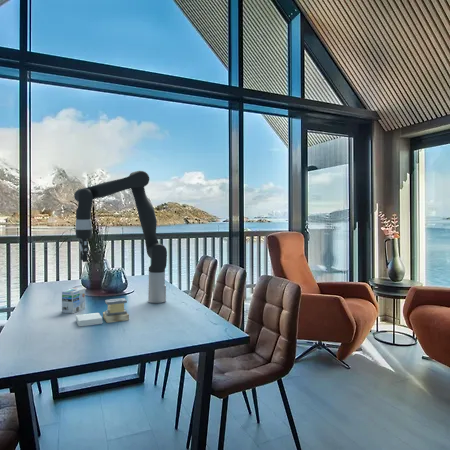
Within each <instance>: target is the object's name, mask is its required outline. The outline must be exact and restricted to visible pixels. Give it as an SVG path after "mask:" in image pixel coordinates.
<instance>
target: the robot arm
mask: <svg viewBox="0 0 450 450" xmlns="http://www.w3.org/2000/svg"><path fill="white" fill-rule="evenodd" d="M149 183H150V176H149V174H148V173H147V172H146V171H144V170H136V171H133V172H132V171H131V172H130V174H129V175H128V176H125V177H122V178H119V179H113V180H109V181H105V182H100V183H97V184H95V185H92V186H87V187H83V188H79V189H77V190H75V192H74V195H73V196H74V200H75V201H76V202H77V208H76V210H75V211H76V212H75V238H76V239H79V243H78V244H79V252H80V260H81V261H82V262H83V263H87V262H88V254H89V241H88V239H92V237H93V235H92V234H93V225H92V206H93V201H94V200H97V199H102V198H105V197H108V196H111V195H115V194H117V193H120V192H123V191H125V190H129V189H130V190H131V193H132V195H133V197H134V202H135V206H136V211H137V215H138V219H139V223H140V226H141V230H142V234H143V237H144V242H145V249H146V254H147V255H148V257H149V258H150V259H151V263H150V266H149V267H148V285H147V286H148V288H147V289H148V290H147V291H148V298H147V301H148V303H151V304H161V303H165V302H167V285H166V267H167V261H168V259H167V257H168V251H167V248H166V246H165V245H164V244H162V243H159V239H158V235H157V224H158V223H157V221H158V220H157V215H156V212H155V208H154V206H153V204H152V202H151V201H150V200H149V198H148V196H147V193H146V189H145V187H146V186H148V184H149Z"/></svg>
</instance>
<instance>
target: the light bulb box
mask: <svg viewBox="0 0 450 450" xmlns="http://www.w3.org/2000/svg"><path fill="white" fill-rule="evenodd" d="M85 309H86V288H82V287H72V288H70V289H66V290H62V291H61V313H62V314H63V313H64V314H75V313H77V312H80V311H82V310H85Z"/></svg>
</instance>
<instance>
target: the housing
mask: <svg viewBox="0 0 450 450" xmlns="http://www.w3.org/2000/svg"><path fill="white" fill-rule="evenodd" d="M104 302H105V304H106V305H107V310H104V312H105V314H106V315H107V316H112V315H121V314H127V313H128V311H127V310H126V309H125V304H128V300H127V299H126V298H125V297H120V298H110V299H105V300H104Z"/></svg>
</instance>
